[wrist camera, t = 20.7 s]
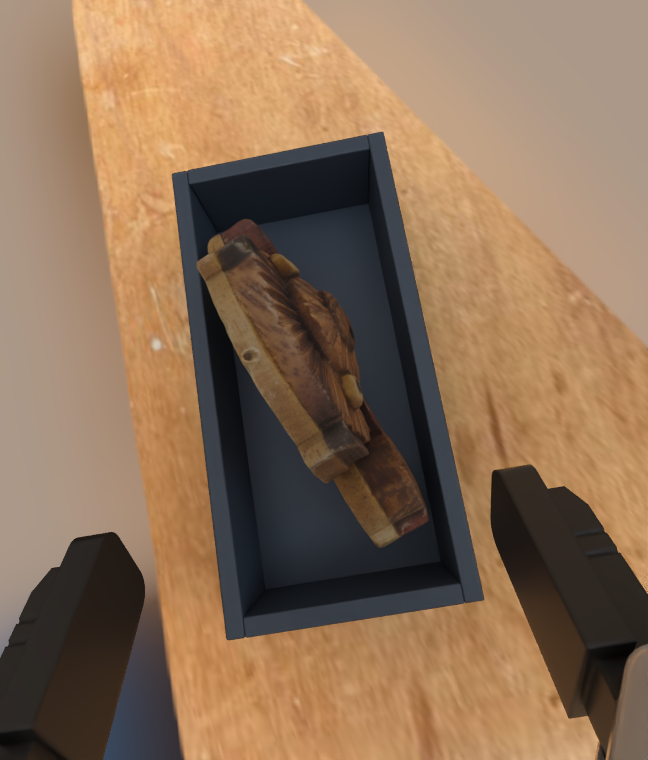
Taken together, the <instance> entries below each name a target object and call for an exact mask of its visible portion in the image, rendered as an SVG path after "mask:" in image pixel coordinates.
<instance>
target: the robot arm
mask: <svg viewBox="0 0 648 760" xmlns="http://www.w3.org/2000/svg"><path fill="white" fill-rule="evenodd" d="M490 517H491V528H492V533H493V537H494V540H495V543H496V546H497V549H498V551H499V554H500V556H501V559H502V561H503V563H504V566H505V568H506V570H507V573H508V575H509V578H510V580H511V582H512V585H513V587H514V589H515V592H516V594H517V597H518V599H519V601H520V604H521V606H522V608H523V611H524V613H525V616H526V618H527V620H528V623H529V625H530V627H531V630H532V632H533V635H534V637H535V639H536V642H537V644H538V646H539V649H540V651H541V654H542V656H543V658H544V661H545V663H546V665H547V668H548V670H549V672H550V675H551V677H552V680H553V682H554V684H555V687H556V689H557V691H558V694H559V696H560V699H561V701H562V703H563V706H564V708H565V710H566V713H567V715H568V718H576V717H583V716H588V717H589V719H590V722H591V724H592V726H593V728H594V730H595V733H596V735H597V737H598V739H599V742H598V746H597V751H596V756H595V760H648V594H647V593H646V591H645V590H644V588H643V586H642V585H641V583H640V582H639V580H638V579H637V577H636V576H635V574H634V573H633V571H632V570H631V568H630V567H629V565H628V564H627V562H626V561H625V559H624V558H623V556H622V555H621V553H618V551H617V547H616V546H615V544H614V543H613V541H612V540H611V538H610V537H609V535H608V534H607V533H605V532H604V528H603V526H602V525H601V523H600V522H599V520H598V519H597V517H596V516H595V514H594V513H593V511H592V510H591V508H590V507H589V505H588V504H587V503H586V502H584V501H583V500H582V499H580V498H579V497H578V496H576V495H575V494H574V493H573V492H571V491H570V490H569V489H567V488H566V487H565V486H563V487H557V488H550V489H547V487H546V485H545V484H544V482H543V480H542V479H541V477H540V475H539V474H538V472H537V470H536V469H535V468H534V467H533V466H532V465H523V466H517V467H511V468H505V469H499V470H494V471H493V472H492V484H491V516H490ZM144 598H145V584H144V579H143V576H142V574H141V571H140V570H139V568H138V567H137V565H136V564H135V562H134V560H133V559H132V557H131V556H130V554H129V552H128V551H127V549H126V548H125V546H124V545H123V543H122V541H121V540H120V538H119V537H118V535H117V534H116V533H114V532H109V533H103V534H97V535H92V536H85V537H79V538H76V539H74V540H73V541H72V542H71V544H70V546H69V548H68V550H67V552H66V554H65V557H64V559H63V561H62V563H61V566H60V567H55V568H51V570H50V571H49V572H48V573H47V574H46V576H45V577H44V578H43V579H42V580H41V582H40V583H39V584H38V585H37V587H36V588H35V589H34V590H33V591H32V592H31V594H30V597H29V599H28V601H27V603H26V605H25V607H24V609H23V611H22V613H21V615H20V617H19V624H16V626H15V628H14V630H13V632H12V635H11V636H10V639H9V645H8V646H7V647H5V649H4V651H3V654H2V655H1V658H0V760H103V757H104V753H105V749H106V745H107V742H108V738H109V734H110V730H111V726H112V722H113V719H114V715H115V711H116V707H117V703H118V700H119V696H120V692H121V688H122V684H123V680H124V677H125V673H126V669H127V665H128V661H129V658H130V654H131V650H132V646H133V642H134V638H135V635H136V631H137V627H138V623H139V619H140V615H141V612H142V608H143V604H144Z"/></svg>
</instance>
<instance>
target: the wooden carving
mask: <svg viewBox="0 0 648 760" xmlns="http://www.w3.org/2000/svg"><path fill="white" fill-rule="evenodd" d="M208 253H209V254H208V255H206V256H205V257H203V258H202V259H200V260H199V261H197V269H198V270H199V272H200V274H201V276H202V277H203V279H204V281H205V282H206V284H207V287H208V290H209V293H210V295H211V298H212V301H213V303H214V306H215V308H216V310H217V312H218V314H219V316H220V318H221V320H222V322H223V323H224V325H225V328H226V331H227V334H228V336H229V338H230V340H231V342H232V344H233V346H234V348H235V350H236V352H237V354H238V355H239V357H240V359H241V361H242V363H243V365H244V366H245V368H246V369H247V371H248V372H249V374H250V376H251V377H252V379H253V381H254V383H255V385H256V386H257V388H258V390H259V392H260V393H261V395H262V396H263V398H264V399H265V400H266V402H267V403H268V405H269V406H270V408H271V409H272V411H273V412H274V414H275V415H276V417H277V418H278V420H279V421H280V423H281V424H282V426H283V427H284V429H285V430H286V431H287V433H288V434H289V436H290V437H291V439H292V440H293V441H294V443H295V444H296V445H297V447H298V449H299V451H300V454H301V456H302V458H303V460H304V462H305V464H306V465H307V467H308V468H309V469H310V470H311V472H312V473H313V474H314V475H315V476H316V477H318V478H319V479H320V480H321V481H323V482H324V483H326V484H328V483H329V482H330V481H331V480H332V479H334V481H335V483H336V485H337V486H338V488H339V490H340V492H341V494H342V495H343V497H344V499H345V501H346V503H347V504H348V506H349V507H350V509H351V511H352V512H353V514H354V515H355V517H356V519H357V520H358V522H359V523H360V525H361V526H362V528H363V529H364V531H365V532H366V533H367V534H368V535H369V537H370V538H371V539H372V541H373V543H374V544H375V545H376V546H377V547H378V548H384V547H386V546H387V545H389V544H391V543H392V542H394V541H396V540H397V539H399V538H400V537H402V536H404V535H406V534H408V533H409V532H411V531H413V530H415V529H416V528H418V527H420V526H422V525H423V524H425V523H427V522H428V521H429V520H430V519H429V515H428V511H427V507H426V504H425V501H424V498H423V496H422V493H421V491H420V489H419V487H418V484H417V482H416V480H415V478H414V476H413V474H412V472H411V471H410V469H409V467H408V466H407V464H406V462H405V459H404V458H403V456H402V455H401V454H400V452H399V451H398V449H397V448H396V446H395V445H394V443H393V442H392V440H391V439H390V438H389V437H388V436H387V434H386V433H385V432H384V430H383V428H382V427H381V425H380V423H379V422H378V420H377V418H376V417H375V415H374V414H373V412H372V410H371V408H370V406H369V405H368V403H367V401H366V399H365V398H364V396H363V394H362V391H361V387H360V374H359V367H358V364H357V361H356V354H355V351H354V348H355V344H356V340H355V336H354V332H353V328H352V325H351V323H350V321H349V319H348V317H347V315H346V313H345V312H344V310H343V309H342V307H341V306H340V304H339V303H338V301H337V300H336V299H335V298H334V297H333V296H332V294H330V293H328V292H326V291H318V290H317V289H315V288H314V287H313V286H312V285H310V284H309V283H308V282H306V281H305V280H303V279H301V278H300V277H299V270H298V269H297V267H296V266H295V265H294V264H293V263H292V262H291V261H290V260H289V259H287V258H286V257H284V256H283V255H281V254H279V253H278V252H277V250H276V249H275V247H274V245H273V243H272V242H271V240H270V239H269V238H268V236H267V235H266V234H265V233H264V232H263V230H262V229H261V228H260V227H259V226H258V225H257V224H256V223H254V222H253V221H252V220H249V219H244V220H241V221H239V222H237V223H236V224H235V225H234V226H232V227H231V228H230V229H228V230H227V231H225V232H224V233H222V234H219V235H215V236H214V237H213V238H211V239H210V240H209V243H208Z"/></svg>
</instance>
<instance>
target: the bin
mask: <svg viewBox="0 0 648 760" xmlns="http://www.w3.org/2000/svg"><path fill="white" fill-rule="evenodd" d="M172 180H173V189H174V197H175V206H176V214H177V223H178V231H179V240H180V248H181V257H182V265H183V274H184V282H185V291H186V299H187V308H188V316H189V325H190V333H191V342H192V350H193V359H194V367H195V376H196V384H197V393H198V401H199V410H200V418H201V427H202V435H203V444H204V452H205V461H206V469H207V478H208V486H209V495H210V503H211V512H212V520H213V529H214V537H215V546H216V554H217V563H218V571H219V580H220V588H221V596H222V605H223V613H224V622H225V630H226V638H227V640H234V639H241V638H244V637H245V636H246V637H247V638H248V637H254V636H261V635H267V634H274V633H280V632H286V631H293V630H299V629H305V628H312V627H318V626H324V625H331V624H337V623H343V622H350V621H356V620H363V619H369V618H375V617H382V616H388V615H394V614H401V613H407V612H413V611H420V610H426V609H432V608H439V607H445V606H451V605H458V604H463V603H464V602H465V603H470V602H477V601H483V600H484V596H483V591H482V586H481V582H480V577H479V572H478V568H477V563H476V559H475V554H474V549H473V545H472V540H471V535H470V531H469V526H468V521H467V517H466V512H465V508H464V503H463V498H462V494H461V489H460V484H459V480H458V475H457V471H456V466H455V461H454V457H453V452H452V447H451V443H450V438H449V433H448V429H447V424H446V420H445V415H444V410H443V406H442V401H441V396H440V392H439V387H438V383H437V378H436V373H435V369H434V364H433V359H432V355H431V350H430V346H429V341H428V336H427V332H426V327H425V322H424V318H423V313H422V308H421V304H420V299H419V295H418V290H417V285H416V281H415V276H414V271H413V267H412V262H411V258H410V253H409V248H408V244H407V239H406V234H405V230H404V225H403V221H402V216H401V211H400V207H399V202H398V197H397V193H396V188H395V183H394V179H393V174H392V170H391V165H390V160H389V156H388V151H387V146H386V142H385V137H384V133H383V132H378V133H373V134H369V135H368V136H367V135H363V136H358V137H353V138H348V139H343V140H338V141H333V142H328V143H323V144H318V145H313V146H308V147H303V148H298V149H293V150H288V151H283V152H278V153H273V154H268V155H263V156H258V157H252V158H247V159H242V160H237V161H232V162H227V163H222V164H217V165H212V166H207V167H202V168H197V169H192V170H188V172H187V171H183V172H178V173H173V174H172ZM244 219H249V220H252V221H253V222H254V223H256V224H257V225H258V226H259V227H260V228H261V229H262V230H263V232H264V233H265V234H266V235H267V236H268V238H269V239H270V240H271V242H272V243H273V245H274V247H275V249H276V250H277V252H278V253H279V254H281V255H283V256H284V257H286V258H287V259H289V260H290V261H291V262H292V263H293V264H294V265H295V266H296V267H297V269H298V270H299V277H300V278H301V279H303V280H305V281H306V282H308V283H309V284H310V285H312V286H313V287H314V288H315V289H317V290H318V291H326V292H328V293H330V294H332V296H333V297H334V298H335V299H336V300H337V301H338V303H339V304H340V306H341V307H342V309H343V310H344V312H345V313H346V315H347V317H348V319H349V321H350V323H351V325H352V328H353V332H354V336H355V340H356V344H355V348H354V351H355V354H356V361H357V364H358V367H359V374H360V387H361V391H362V394H363V396H364V398H365V399H366V401H367V403H368V405H369V406H370V408H371V410H372V412H373V414H374V415H375V417H376V418H377V420H378V422H379V423H380V425H381V427H382V428H383V430H384V432H385V433H386V434H387V436H388V437H389V438H390V439H391V440H392V442H393V443H394V445H395V446H396V448H397V449H398V451H399V452H400V454H401V455H402V456H403V458H404V459H405V462H406V464H407V466H408V467H409V469H410V471H411V472H412V474H413V476H414V478H415V480H416V482H417V484H418V487H419V489H420V491H421V493H422V496H423V498H424V501H425V504H426V507H427V511H428V515H429V519H430V520H429V521H428V522H427V523H425V524H423V525H422V526H420V527H418V528H416V529H415V530H413V531H411V532H409V533H408V534H406V535H404V536H402V537H400V538H399V539H397V540H396V541H394V542H392V543H391V544H389V545H387V546H386V547H384V548H378V547H377V546H376V545H375V544H374V543H373V541H372V539H371V538H370V537H369V535H368V534H367V533H366V532H365V531H364V529H363V528H362V526H361V525H360V523H359V522H358V520H357V519H356V517H355V515H354V514H353V512H352V511H351V509H350V507H349V506H348V504H347V503H346V501H345V499H344V497H343V495H342V494H341V492H340V490H339V488H338V486H337V485H336V483H335V481H334V479H332V480H331V481H330V482H329V483H328V484H326V483H324V482H323V481H321V480H320V479H319V478H318V477H316V476H315V475H314V474H313V473H312V472H311V470H310V469H309V468H308V467H307V465H306V464H305V462H304V460H303V458H302V456H301V454H300V451H299V449H298V447H297V445H296V444H295V443H294V441H293V440H292V439H291V437H290V436H289V434H288V433H287V431H286V430H285V429H284V427H283V426H282V424H281V423H280V421H279V420H278V418H277V417H276V415H275V414H274V412H273V411H272V409H271V408H270V406H269V405H268V403H267V402H266V400H265V399H264V398H263V396H262V395H261V393H260V392H259V390H258V388H257V386H256V385H255V383H254V381H253V379H252V377H251V376H250V374H249V372H248V371H247V369H246V368H245V366H244V365H243V363H242V361H241V359H240V357H239V355H238V354H237V352H236V350H235V348H234V346H233V344H232V342H231V340H230V338H229V336H228V334H227V331H226V328H225V325H224V323H223V322H222V320H221V318H220V316H219V314H218V312H217V310H216V308H215V306H214V303H213V301H212V298H211V295H210V293H209V290H208V287H207V284H206V282H205V281H204V279H203V277H202V276H201V274H200V272H199V270H198V269H197V261H199V260H200V259H202V258H203V257H205V256H206V255H208V254H209V253H208V243H209V240H210V239H211V238H213V237H214V236H215V235H219V234H222V233H224V232H225V231H227V230H228V229H230V228H231V227H232V226H234V225H235V224H236V223H237V222H239V221H241V220H244Z"/></svg>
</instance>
